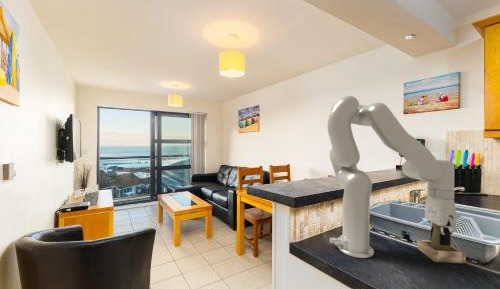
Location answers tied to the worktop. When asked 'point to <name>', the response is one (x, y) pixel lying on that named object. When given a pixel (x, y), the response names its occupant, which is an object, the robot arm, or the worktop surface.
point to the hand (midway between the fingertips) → (440, 241)
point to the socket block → (441, 253)
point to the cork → (438, 239)
